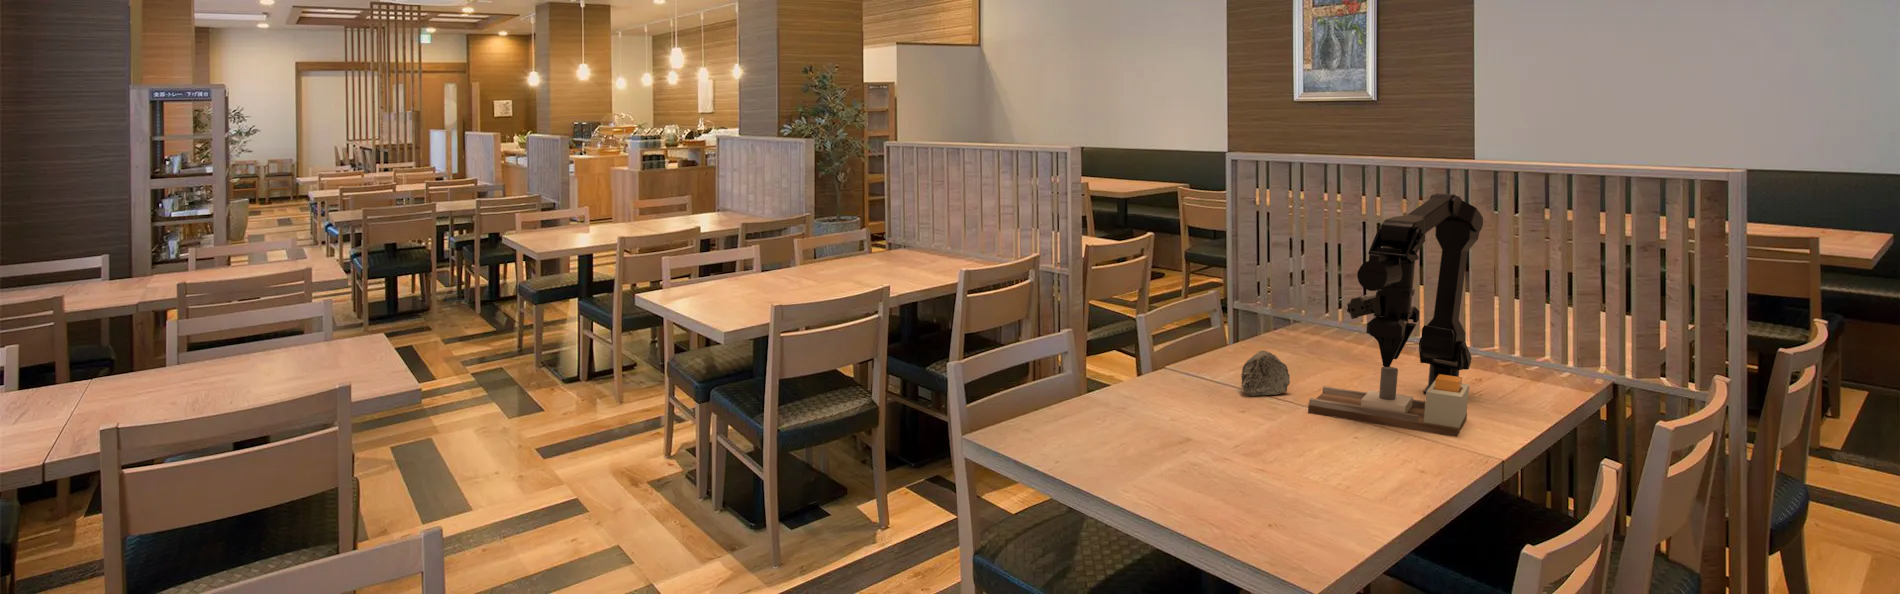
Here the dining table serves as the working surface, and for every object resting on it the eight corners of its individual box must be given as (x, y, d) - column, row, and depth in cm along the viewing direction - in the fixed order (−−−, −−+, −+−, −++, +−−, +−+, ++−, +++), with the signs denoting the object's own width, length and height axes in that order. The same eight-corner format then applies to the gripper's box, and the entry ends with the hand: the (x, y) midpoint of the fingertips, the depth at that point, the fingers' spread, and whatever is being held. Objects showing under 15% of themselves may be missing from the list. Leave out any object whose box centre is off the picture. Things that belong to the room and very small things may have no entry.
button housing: (1432, 409, 193) (1435, 379, 192) (1466, 414, 189) (1469, 384, 188) (1423, 422, 185) (1426, 391, 184) (1458, 427, 181) (1461, 396, 180)
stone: (1273, 352, 204) (1267, 340, 213) (1234, 380, 207) (1229, 366, 216) (1302, 386, 204) (1294, 373, 214) (1262, 414, 207) (1256, 399, 217)
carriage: (1369, 399, 198) (1372, 361, 197) (1412, 405, 194) (1415, 367, 192) (1360, 409, 192) (1363, 370, 190) (1404, 416, 187) (1407, 376, 186)
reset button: (1436, 399, 189) (1439, 374, 188) (1459, 402, 187) (1462, 377, 186) (1433, 404, 186) (1435, 378, 185) (1456, 407, 184) (1459, 382, 183)
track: (1323, 398, 206) (1324, 385, 205) (1466, 420, 190) (1467, 407, 190) (1308, 412, 196) (1308, 399, 196) (1457, 437, 181) (1458, 423, 180)
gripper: (1363, 274, 200) (1358, 348, 203) (1341, 287, 185) (1335, 367, 188) (1422, 279, 194) (1416, 355, 197) (1404, 293, 179) (1397, 375, 182)
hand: (1390, 362), depth 191 cm, fingers open, 7 cm apart
